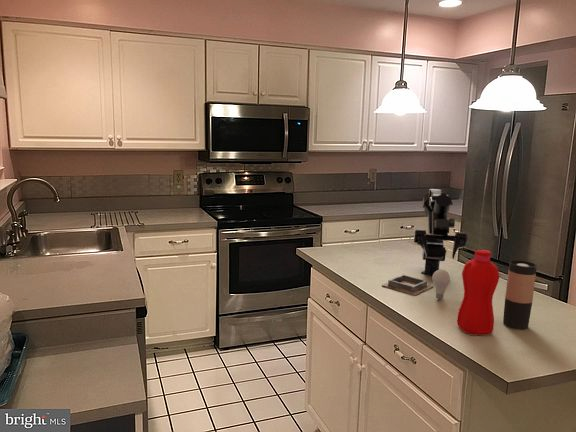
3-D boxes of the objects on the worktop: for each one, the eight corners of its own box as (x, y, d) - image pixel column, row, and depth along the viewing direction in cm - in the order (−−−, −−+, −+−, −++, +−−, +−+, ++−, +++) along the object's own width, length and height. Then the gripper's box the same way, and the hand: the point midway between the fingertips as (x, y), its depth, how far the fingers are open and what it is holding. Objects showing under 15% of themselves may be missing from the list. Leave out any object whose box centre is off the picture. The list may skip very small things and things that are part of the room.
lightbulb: (449, 303, 167) (452, 273, 165) (431, 301, 168) (433, 271, 166) (447, 297, 173) (450, 268, 171) (429, 296, 174) (432, 266, 172)
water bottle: (477, 321, 152) (486, 244, 148) (497, 336, 142) (506, 254, 137) (450, 322, 151) (457, 245, 146) (467, 337, 140) (476, 254, 136)
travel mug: (497, 320, 153) (504, 260, 150) (520, 320, 154) (527, 260, 150) (510, 330, 146) (518, 267, 142) (534, 330, 147) (542, 267, 143)
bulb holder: (400, 278, 193) (401, 272, 193) (433, 287, 184) (433, 281, 183) (381, 286, 183) (382, 279, 183) (414, 295, 174) (415, 289, 173)
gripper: (416, 208, 180) (416, 243, 171) (469, 211, 176) (471, 248, 168) (414, 224, 189) (413, 259, 180) (463, 228, 185) (465, 263, 177)
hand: (440, 257), depth 176 cm, fingers open, 9 cm apart
